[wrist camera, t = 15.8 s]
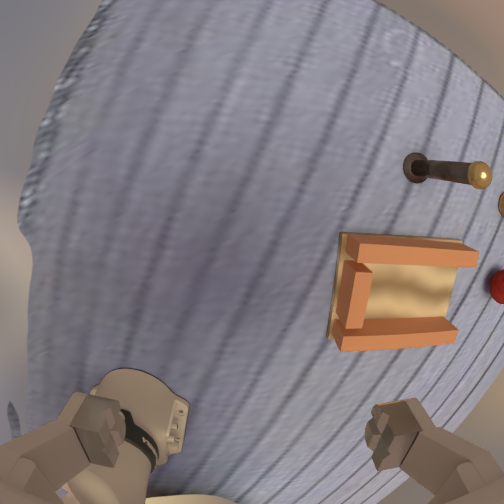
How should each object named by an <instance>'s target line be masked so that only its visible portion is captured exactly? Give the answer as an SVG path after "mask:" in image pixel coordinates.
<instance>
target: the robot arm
mask: <svg viewBox="0 0 504 504" xmlns="http://www.w3.org/2000/svg"><path fill="white" fill-rule="evenodd" d="M181 410H182V411H181ZM188 411H189V403H188V402H187V401H185V400H184V399H182V398H180V397H178V396H176V395H175V394H174V393H172V392H171V391H170V390H169V388H168V387H167V386H166V385H164V384H163V383H162V382H161V381H159V380H158V379H156V378H155V377H153V376H151V375H149V374H147V373H144V372H141V371H138V370H133V369H117V370H114V371H111V372H109V373H108V374H107V375H105V377H104V378H103V380H102V381H101V383H100V384H99V385H97V386H95V387H93V388H92V389H91V391H90V394H85V393H81V392H75V393H73V395H72V396H71V398H70V399H69V401H68V402H67V404H66V406H65V407H64V409H63V410H62V412H61V414H60V415H59V417H58V418H57V420H56V422H53V421H51V422H49V423H47V424H45V425H43V426H41V427H39V428H37V429H35V430H33V431H31V432H29V433H27V434H24V435H22V436H20V437H18V438H16V439H14V440H12V441H10V442H7V443H5V444H3V445H1V446H0V504H64V502H63V501H62V500H61V498H60V497H59V496H58V494H57V493H56V492H55V491H56V490H58V489H59V488H60V487H62V486H63V485H64V484H66V483H67V482H68V485H69V488H70V490H71V492H72V493H73V495H74V496H75V498H76V499H77V500H78V501H79V502H80V503H81V504H145V499H146V492H147V486H148V480H149V476H150V474H151V473H152V471H153V470H154V469H155V467H156V466H157V465H163V464H165V463H167V461H168V457H169V454H175V453H179V452H181V450H182V446H183V440H184V434H185V429H186V423H187V417H188ZM371 414H372V416H373V418H372V419H370V420H369V421H368V422H367V425H366V428H365V440H366V443H367V446H368V448H370V449H371V450H373V451H374V452H373V455H372V459H373V462H374V464H375V467H376V469H377V471H380V470H386V469H391V468H396V467H400V469H402V470H403V471H404V472H405V473H407V474H408V475H409V476H411V477H412V478H413V479H415V480H416V481H417V482H418V483H420V484H421V485H422V486H424V487H425V488H426V489H427V490H429V491H430V492H431V493H433V494H434V495H435V496H434V497H433V498H432V499H431V500H430V502H429V503H428V504H504V472H503V471H502V469H501V468H500V466H499V465H498V463H497V462H496V460H495V459H494V457H493V456H492V454H491V453H490V452H489V451H487V450H485V449H483V448H481V447H479V446H477V445H475V444H473V443H471V442H469V441H466V440H465V439H463V438H460V437H458V436H457V435H455V434H453V433H451V432H449V431H447V430H445V429H443V428H441V427H437V428H436V427H435V425H434V423H433V422H432V420H431V419H430V417H429V416H428V414H427V412H426V411H425V409H424V408H423V406H422V405H421V403H420V402H419V400H418V399H417V398H410V399H405V400H399V401H393V402H387V403H381V404H375V406H374V407H373V409H372V411H371Z"/></svg>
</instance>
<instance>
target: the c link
mask: <svg viewBox="0 0 504 504" xmlns="http://www.w3.org/2000/svg"><path fill="white" fill-rule="evenodd" d="M345 252H346V253H347V254H348V255H349V256H351V257H352V258H353V259H354V260H344V263H343V270H342V276H341V283H340V289H339V295H338V301H337V307H336V313H337V315H338V317H339V319H334V324H333V329H332V335H333V337H334V339H335V341H336V344H337V346H338V348H339V350H340V352H343V351H368V350H385V349H400V348H412V347H423V346H433V345H443V344H451V343H454V341H455V339H456V336H457V333H458V329H457V328H456V327H455V326H454V325H452V324H451V323H450V322H449V321H448V320H447V319H446V318H445V317H443V316H438V317H417V318H388V319H364V317H365V313H366V308H367V303H368V298H369V293H370V288H371V283H372V277H373V272H372V271H371V270H370V269H369V268H368V267H366V266H365V265H364V264H363V263H374V264H397V265H421V266H446V267H471V268H476V265H477V261H478V256H479V251H477V250H474V249H472V248H470V247H468V246H466V245H464V244H462V243H455V242H443V241H432V240H420V239H408V238H395V237H382V236H369V235H355V234H347V241H346V248H345Z"/></svg>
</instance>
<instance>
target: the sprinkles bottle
mask: <svg viewBox="0 0 504 504" xmlns="http://www.w3.org/2000/svg"><path fill="white" fill-rule="evenodd" d="M499 210H500V213H501V214H502V215H503V216H504V193H503V194H502V195H501V197H500V200H499Z"/></svg>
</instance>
